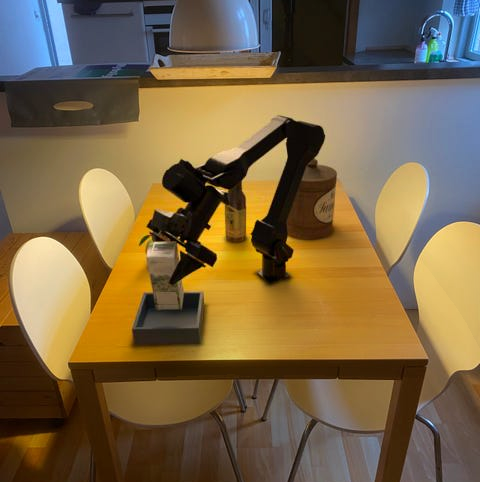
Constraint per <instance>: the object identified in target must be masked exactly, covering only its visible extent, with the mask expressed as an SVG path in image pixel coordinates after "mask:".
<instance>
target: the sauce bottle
mask: <svg viewBox="0 0 480 482" xmlns="http://www.w3.org/2000/svg"><path fill="white" fill-rule="evenodd" d="M227 190H228V189H227ZM227 197H228V200H229V205H225V204H224V229H225V231H224V232H225V238H226V239H227V241H230V242H233V243H234V242H235V243H236V242H242V241H244V240H246V237H247V236H246V235H247V197H246V194H245V192H243V180H242V181H241V182H240V183H239V184H238V185H237V186H236V187H235V188H234V189H231V190H228V191H227Z"/></svg>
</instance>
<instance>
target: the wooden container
mask: <svg viewBox="0 0 480 482" xmlns="http://www.w3.org/2000/svg"><path fill="white" fill-rule="evenodd" d="M337 179H338V171H337V170H336V169H335V168H333V167H331V166H328V165H323V164H319V163H318V159H316V157H315V158H314V159H313V160H312V161H311V162H310V163H308V165H307V167H306V169H305V172H304V175H303V178H302V180H301V183H300V186H299V188H298V191H297V194H296V197H295V199H294V202H293V205H292V208H291V210H290V213H289V216H288V218H287V222H286V224H287V231H288V236H291V237H293V238H296V239H301V240H318V239H322V238H325V237H328V236H329V235H331V233H332V231H333V224H334V215H335V203H336V189H337V187H336V185H337Z"/></svg>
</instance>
